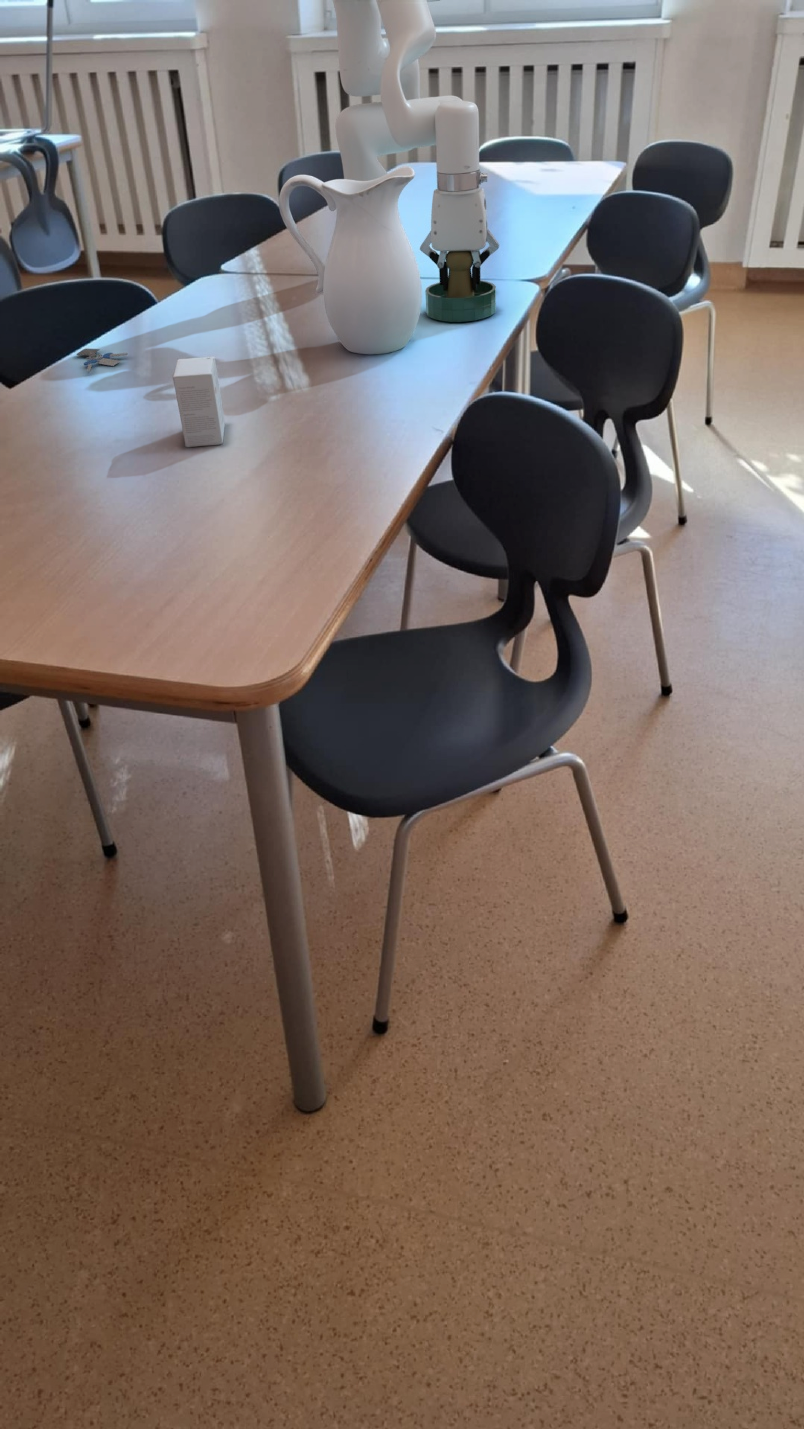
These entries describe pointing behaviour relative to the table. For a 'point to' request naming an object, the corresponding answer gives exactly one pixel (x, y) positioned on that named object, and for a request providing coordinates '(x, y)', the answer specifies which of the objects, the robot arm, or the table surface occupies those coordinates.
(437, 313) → the bowl
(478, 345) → the table surface
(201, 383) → the small box
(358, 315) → the pitcher
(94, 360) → the key chain
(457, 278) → the cork
